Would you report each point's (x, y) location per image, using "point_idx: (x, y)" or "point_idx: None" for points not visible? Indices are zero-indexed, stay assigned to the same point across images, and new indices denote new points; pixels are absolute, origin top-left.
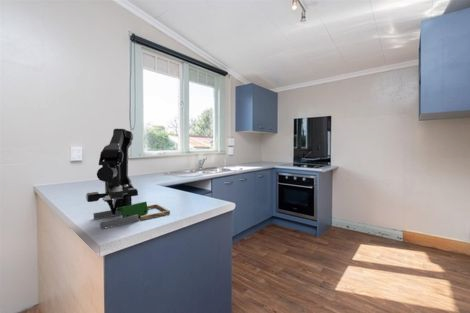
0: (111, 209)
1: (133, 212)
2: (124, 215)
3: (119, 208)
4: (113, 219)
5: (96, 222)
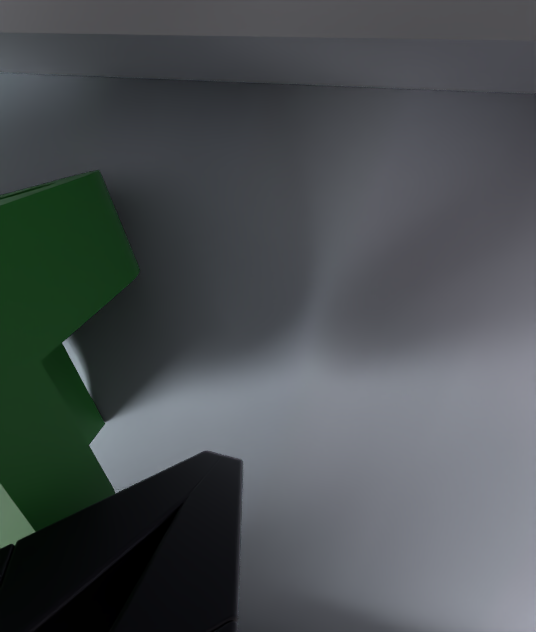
0: (230, 557)
1: None
2: (64, 187)
3: (13, 467)
4: (377, 25)
5: (524, 545)
